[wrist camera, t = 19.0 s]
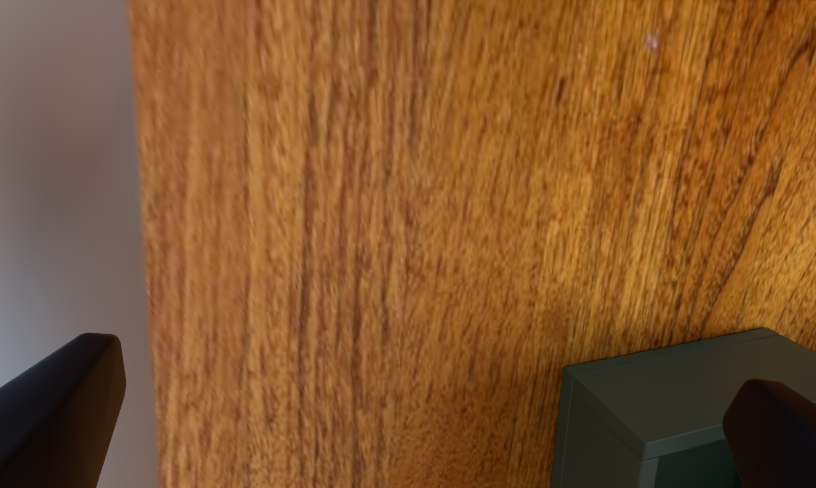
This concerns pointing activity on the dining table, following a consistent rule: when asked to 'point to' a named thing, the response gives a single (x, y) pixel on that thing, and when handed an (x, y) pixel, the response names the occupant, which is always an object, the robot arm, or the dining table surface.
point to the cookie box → (666, 411)
